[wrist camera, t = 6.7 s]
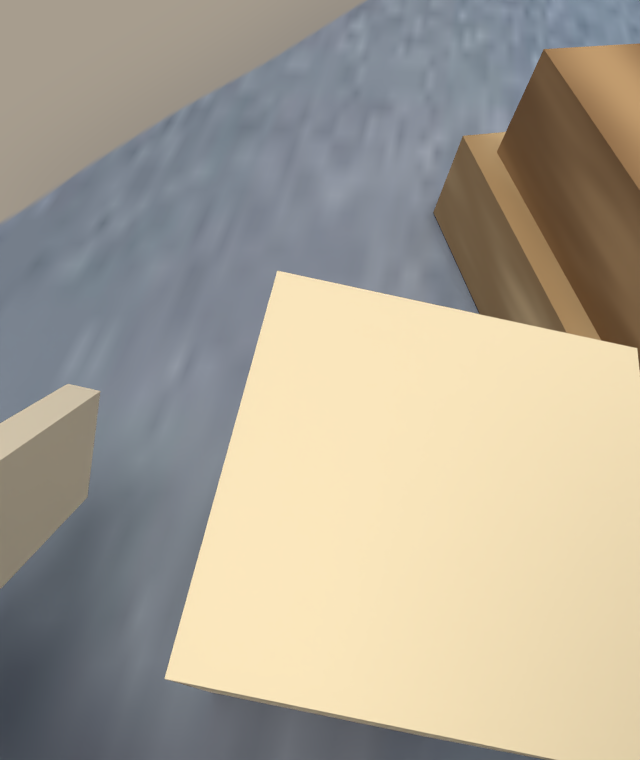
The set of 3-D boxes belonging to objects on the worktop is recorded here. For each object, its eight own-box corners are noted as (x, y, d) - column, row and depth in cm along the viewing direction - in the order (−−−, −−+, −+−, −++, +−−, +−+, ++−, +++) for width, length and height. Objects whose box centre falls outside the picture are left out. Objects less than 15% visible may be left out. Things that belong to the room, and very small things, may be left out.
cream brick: (441, 524, 19) (637, 348, 10) (424, 736, 16) (682, 785, 7) (260, 486, 19) (277, 270, 10) (211, 692, 16) (164, 678, 7)
